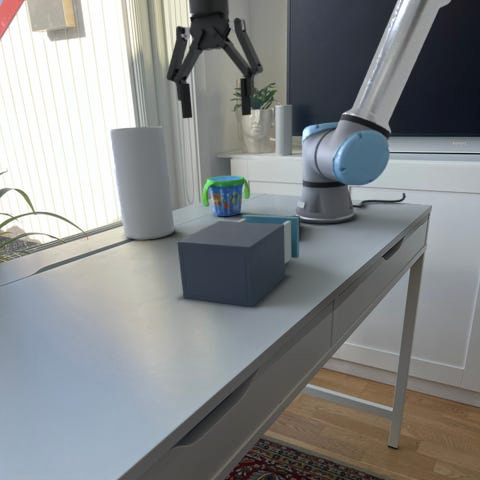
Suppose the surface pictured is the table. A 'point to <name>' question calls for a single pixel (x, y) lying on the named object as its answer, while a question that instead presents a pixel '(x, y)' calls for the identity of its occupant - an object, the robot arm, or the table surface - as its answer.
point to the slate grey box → (232, 262)
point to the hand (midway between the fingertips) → (216, 116)
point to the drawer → (289, 231)
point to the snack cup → (225, 194)
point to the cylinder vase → (142, 181)
